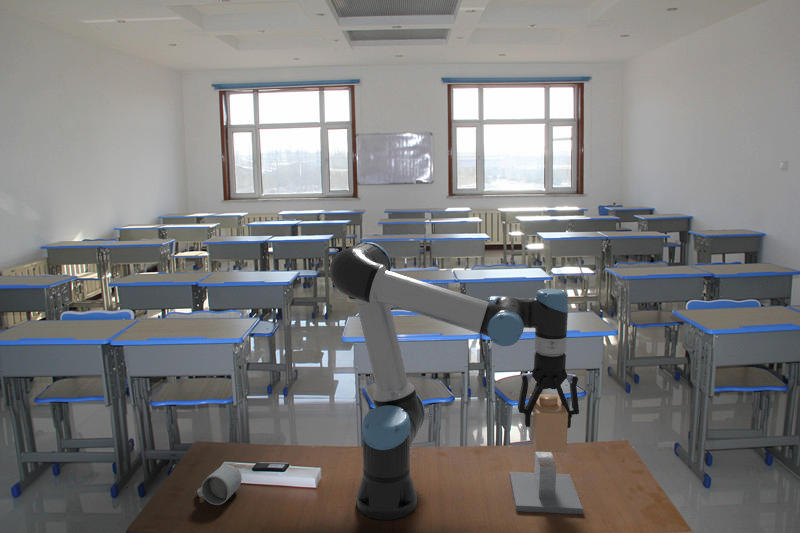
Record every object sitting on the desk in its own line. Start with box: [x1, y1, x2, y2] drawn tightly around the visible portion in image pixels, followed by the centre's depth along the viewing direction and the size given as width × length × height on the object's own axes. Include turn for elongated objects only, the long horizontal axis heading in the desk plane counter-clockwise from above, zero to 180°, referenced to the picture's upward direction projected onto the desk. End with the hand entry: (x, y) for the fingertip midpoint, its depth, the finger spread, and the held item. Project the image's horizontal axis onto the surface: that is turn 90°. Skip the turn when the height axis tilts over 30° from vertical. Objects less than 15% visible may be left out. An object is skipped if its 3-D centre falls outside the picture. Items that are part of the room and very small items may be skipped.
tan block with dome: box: [529, 393, 569, 454], centre depth 145 cm, size 12×7×12 cm, turn 175°
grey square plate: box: [508, 451, 584, 515], centre depth 148 cm, size 16×16×10 cm
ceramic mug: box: [196, 464, 243, 506], centre depth 148 cm, size 11×8×8 cm
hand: (546, 438), depth 146 cm, fingers closed on tan block with dome, 7 cm apart
